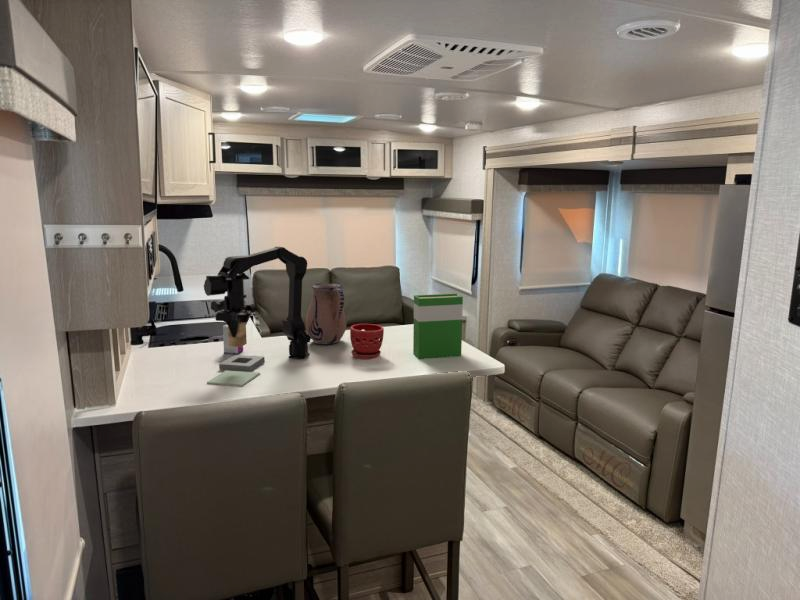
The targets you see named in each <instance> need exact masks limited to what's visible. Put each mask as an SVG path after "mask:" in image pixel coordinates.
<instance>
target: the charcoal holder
mask: <svg viewBox="0 0 800 600" xmlns="http://www.w3.org/2000/svg"><path fill="white" fill-rule="evenodd" d="M265 358H266V357H265V356H259V355H242V354H233V356H231V357H229V358H226V359H225V360H224V361H223V362H220V363H219V364H218V366H219V369H218V370H219V371H226V370H230V371H244V372H253V371H254V370H255V369H257V368H258V367H261V365H263V364H264V363H265V362H266V361H265Z"/></svg>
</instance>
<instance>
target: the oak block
mask: <svg viewBox="0 0 800 600" xmlns="http://www.w3.org/2000/svg"><path fill="white" fill-rule="evenodd" d="M228 336H229V346H233V347H242V346H243V347H244V346H245V345H247V340H248V339H247V324H246V322H239V326H238V330H237V334H236V337H232V334H231V332H230V329H229V327H228Z"/></svg>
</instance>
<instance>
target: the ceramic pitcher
mask: <svg viewBox="0 0 800 600" xmlns="http://www.w3.org/2000/svg"><path fill="white" fill-rule="evenodd" d="M341 287H342V285H341V284H338V283H326V284H325V283H324V284H322V283H315V285H312V286H311V288H312V289H313V296H312V299H311V302H310V303H309V307H308V310H307V314H306V319H305V332H306V333H307V334H308V335H309V336H310V337H311V339H310V340H311V341H313V342H314V343H316V344H318V345H320V344H321V345H332V344H335V343H338V342H339V341H340V340H341V339H342V338H343V336H345V332H346V329H347V318H346V313H345V310H344V306H345V305H344V304H345V296H344V295H345V294H344V292H343V290H342V289H341Z"/></svg>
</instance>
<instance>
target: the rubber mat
mask: <svg viewBox="0 0 800 600" xmlns="http://www.w3.org/2000/svg"><path fill="white" fill-rule="evenodd" d="M260 375H261V372H258V371H251V372H244V371H230V370H223V371H222V372H221V373H220V374H218V375H216V376H214V377H213V378H211V379H210V380H208V381H206V385H217V386H229V387H231V386H232V387H233V386H234V387H244V386H245V385H247V384H248V383H250V382H251V381H253V380H255V378H257V377H258V376H260Z"/></svg>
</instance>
